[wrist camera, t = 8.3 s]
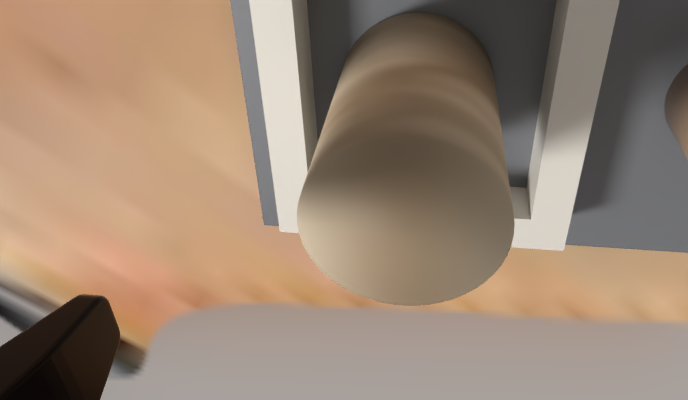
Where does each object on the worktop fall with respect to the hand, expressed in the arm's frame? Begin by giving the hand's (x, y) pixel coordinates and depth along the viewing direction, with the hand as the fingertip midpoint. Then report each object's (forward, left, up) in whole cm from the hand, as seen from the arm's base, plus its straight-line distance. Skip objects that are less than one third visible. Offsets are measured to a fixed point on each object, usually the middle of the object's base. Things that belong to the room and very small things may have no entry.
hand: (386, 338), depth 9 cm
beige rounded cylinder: (0, 0, -9) cm, 9 cm away
